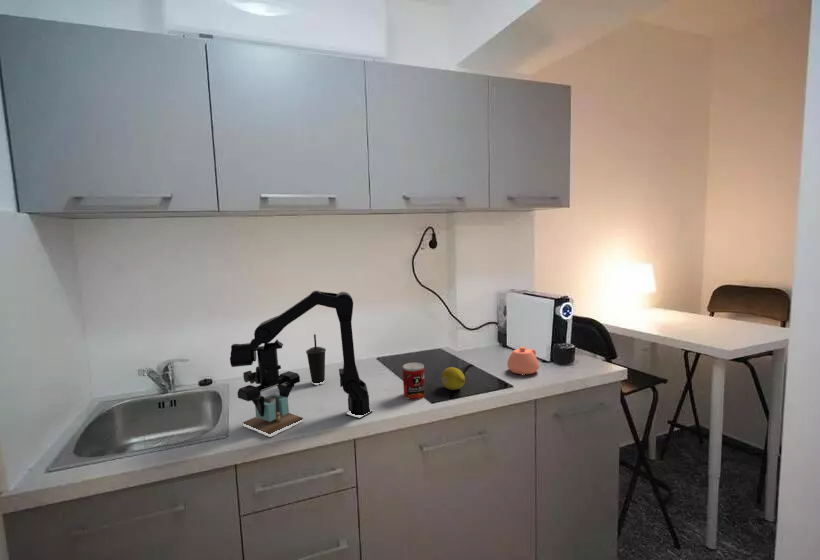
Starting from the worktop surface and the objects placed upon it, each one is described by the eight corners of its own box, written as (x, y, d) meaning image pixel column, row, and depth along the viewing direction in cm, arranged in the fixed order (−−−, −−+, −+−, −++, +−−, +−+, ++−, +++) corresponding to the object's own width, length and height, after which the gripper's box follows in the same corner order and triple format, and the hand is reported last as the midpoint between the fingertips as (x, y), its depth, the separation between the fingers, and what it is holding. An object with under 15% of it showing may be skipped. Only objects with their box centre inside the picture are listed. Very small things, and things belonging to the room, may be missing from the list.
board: (303, 422, 128) (301, 396, 127) (270, 438, 118) (267, 410, 117) (276, 412, 136) (274, 388, 135) (243, 426, 126) (240, 400, 126)
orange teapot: (501, 371, 166) (500, 347, 165) (524, 364, 174) (523, 340, 173) (524, 379, 156) (524, 353, 155) (548, 371, 163) (548, 346, 162)
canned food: (407, 401, 140) (405, 370, 139) (401, 393, 148) (400, 363, 147) (428, 398, 142) (426, 367, 141) (421, 390, 150) (420, 361, 149)
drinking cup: (304, 384, 162) (301, 335, 160) (321, 378, 167) (317, 331, 165) (315, 388, 157) (311, 337, 155) (331, 382, 162) (328, 333, 160)
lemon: (437, 386, 153) (436, 365, 152) (456, 382, 155) (455, 362, 155) (450, 396, 143) (449, 374, 142) (470, 392, 145) (469, 370, 144)
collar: (288, 413, 128) (287, 397, 127) (269, 421, 122) (268, 405, 121) (275, 408, 132) (274, 393, 131) (256, 416, 126) (254, 401, 126)
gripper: (278, 352, 137) (281, 396, 139) (225, 367, 122) (230, 417, 124) (299, 356, 131) (302, 403, 132) (246, 373, 116) (251, 426, 117)
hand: (272, 411), depth 127 cm, fingers closed on collar, 7 cm apart
